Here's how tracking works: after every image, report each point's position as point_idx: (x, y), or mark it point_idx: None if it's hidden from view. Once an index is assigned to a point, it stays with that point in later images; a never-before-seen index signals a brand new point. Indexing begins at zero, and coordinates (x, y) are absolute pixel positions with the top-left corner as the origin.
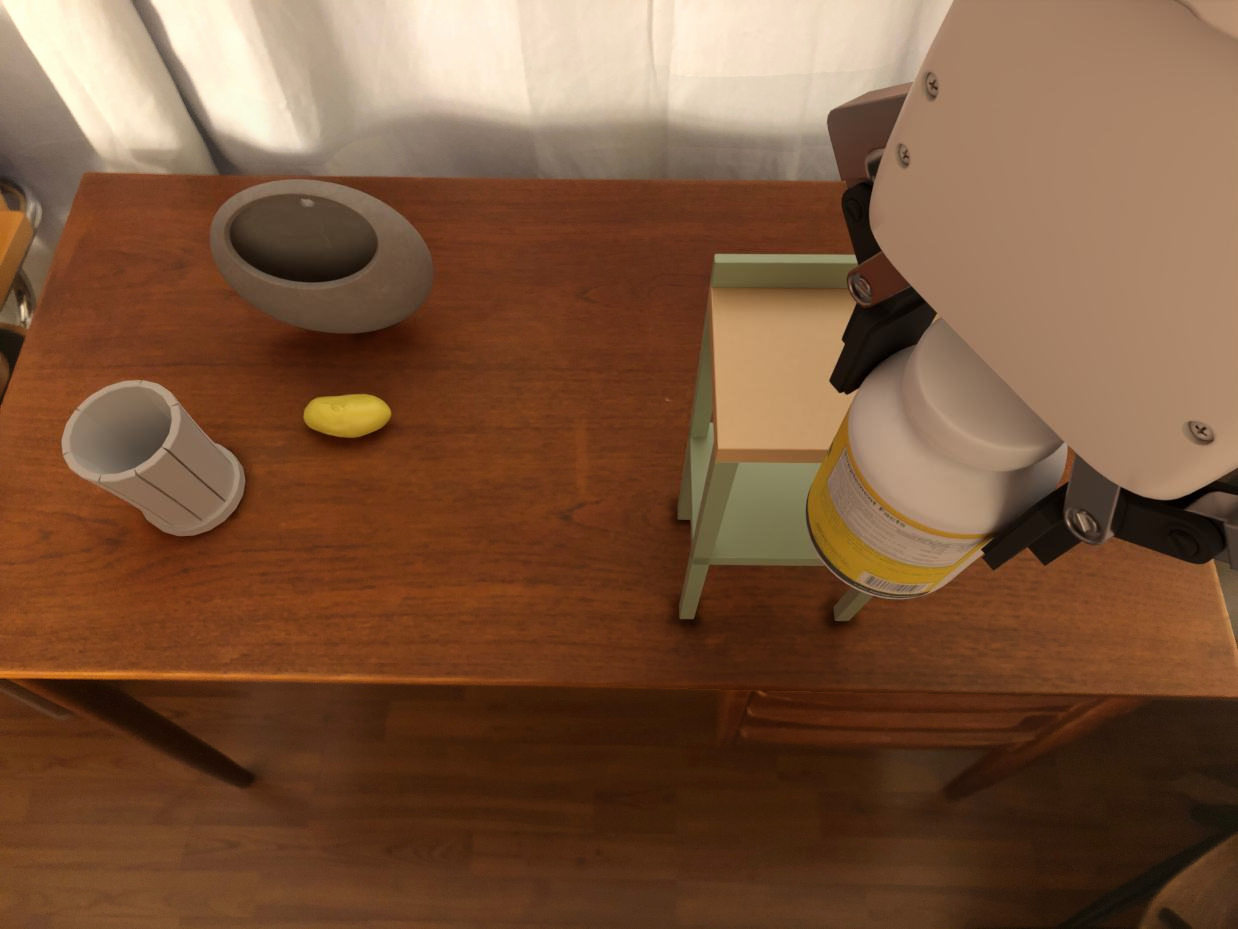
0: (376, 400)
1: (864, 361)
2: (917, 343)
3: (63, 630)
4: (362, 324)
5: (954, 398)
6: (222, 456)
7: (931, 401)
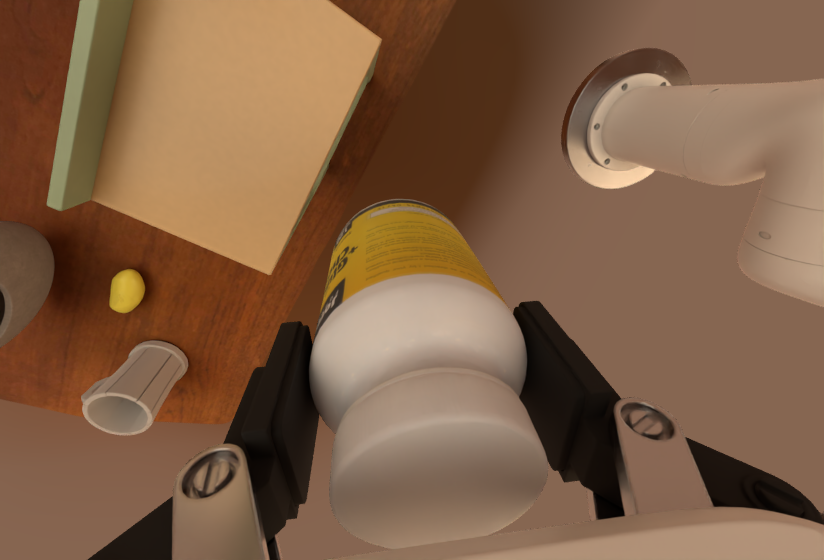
0: (119, 277)
1: (313, 441)
2: (303, 343)
3: (221, 409)
4: (48, 270)
5: (436, 536)
6: (143, 355)
7: None
